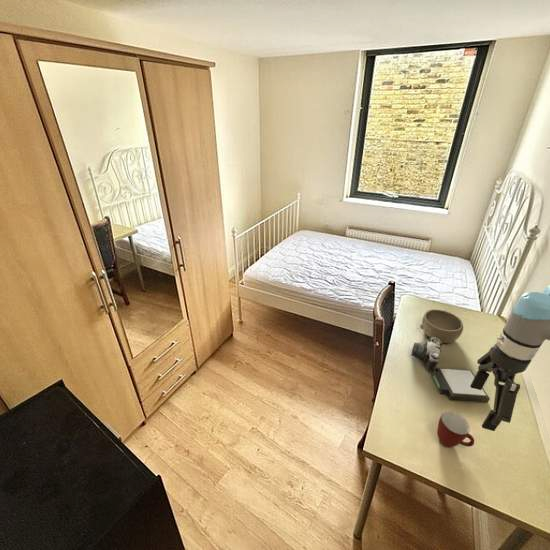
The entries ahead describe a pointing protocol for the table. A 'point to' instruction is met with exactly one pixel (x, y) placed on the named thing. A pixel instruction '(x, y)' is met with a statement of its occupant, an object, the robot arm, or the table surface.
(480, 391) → the scale
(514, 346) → the robot arm
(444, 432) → the mug
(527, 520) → the table surface
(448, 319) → the bowl
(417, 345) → the camera
